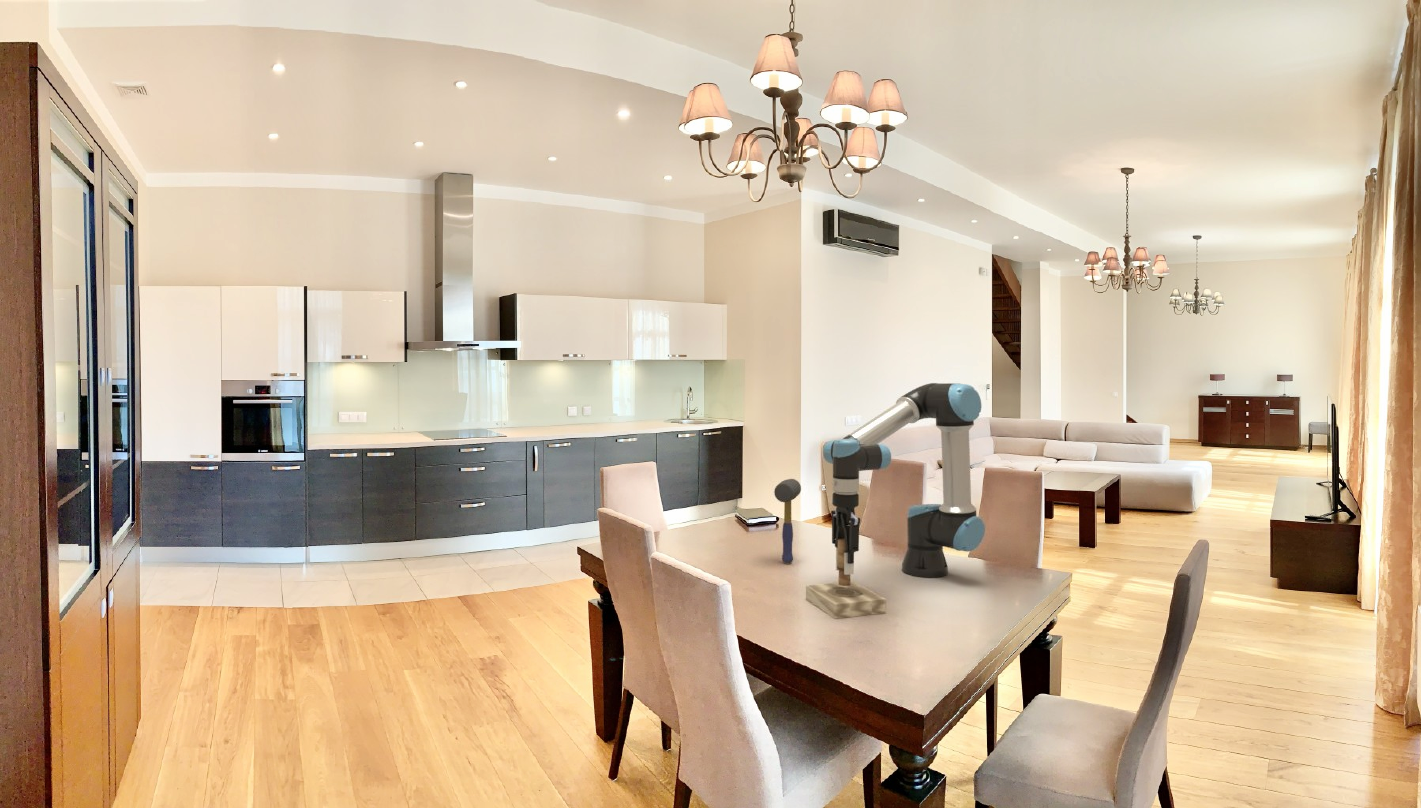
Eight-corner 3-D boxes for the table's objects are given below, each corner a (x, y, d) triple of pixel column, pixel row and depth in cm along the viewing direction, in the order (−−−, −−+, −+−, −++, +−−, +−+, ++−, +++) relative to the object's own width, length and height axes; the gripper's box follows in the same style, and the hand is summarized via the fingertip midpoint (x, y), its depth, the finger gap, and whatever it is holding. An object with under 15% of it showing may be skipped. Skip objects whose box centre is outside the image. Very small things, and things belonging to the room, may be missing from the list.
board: (853, 594, 234) (853, 581, 234) (885, 612, 216) (885, 598, 216) (805, 598, 229) (805, 585, 229) (835, 618, 211) (835, 604, 211)
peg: (847, 581, 225) (848, 538, 225) (854, 585, 221) (855, 541, 220) (834, 582, 224) (834, 538, 223) (841, 586, 220) (841, 542, 219)
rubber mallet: (793, 568, 264) (793, 482, 263) (772, 566, 267) (772, 481, 266) (802, 560, 276) (802, 478, 275) (782, 558, 279) (782, 476, 277)
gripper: (820, 488, 228) (819, 565, 229) (848, 497, 212) (847, 580, 213) (842, 487, 231) (842, 563, 232) (872, 496, 214) (871, 578, 215)
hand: (844, 571), depth 222 cm, fingers closed on peg, 4 cm apart
